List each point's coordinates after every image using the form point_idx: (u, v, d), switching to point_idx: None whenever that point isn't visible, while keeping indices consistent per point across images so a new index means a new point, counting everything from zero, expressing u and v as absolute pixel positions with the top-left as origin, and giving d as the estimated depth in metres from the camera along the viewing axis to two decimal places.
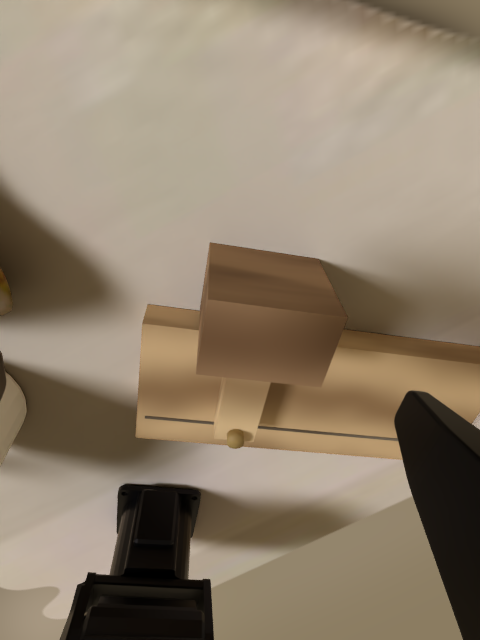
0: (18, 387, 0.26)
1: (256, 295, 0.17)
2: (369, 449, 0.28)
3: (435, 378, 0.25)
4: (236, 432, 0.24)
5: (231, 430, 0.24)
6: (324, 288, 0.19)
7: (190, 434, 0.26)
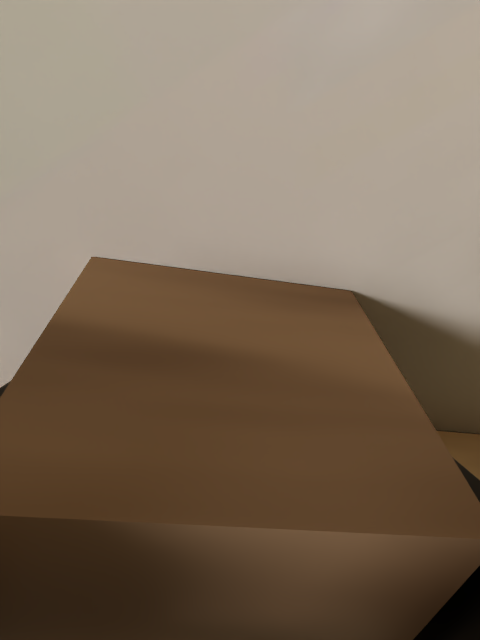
0: None
1: (162, 454, 0.05)
2: None
3: None
4: None
5: None
6: (385, 388, 0.07)
7: None
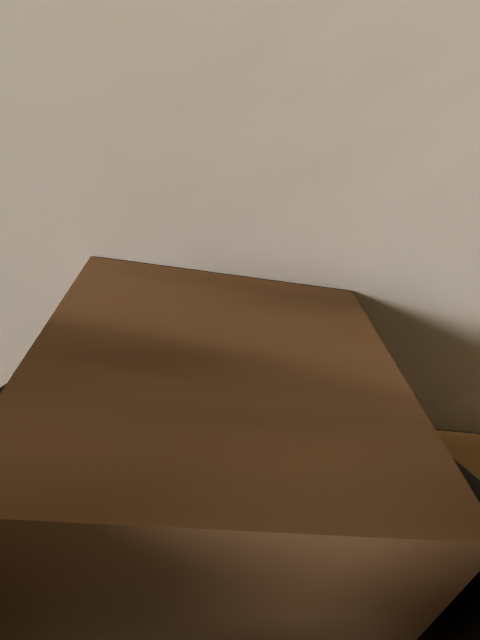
0: None
1: (161, 455, 0.05)
2: None
3: None
4: None
5: None
6: (386, 390, 0.07)
7: None
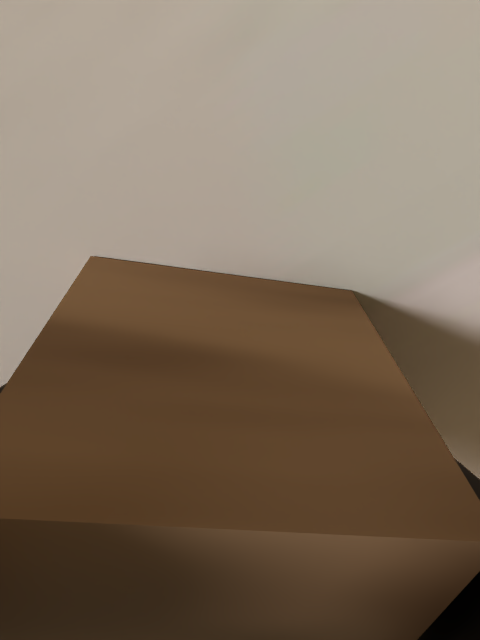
0: None
1: (162, 455, 0.05)
2: None
3: None
4: None
5: None
6: (386, 389, 0.07)
7: None
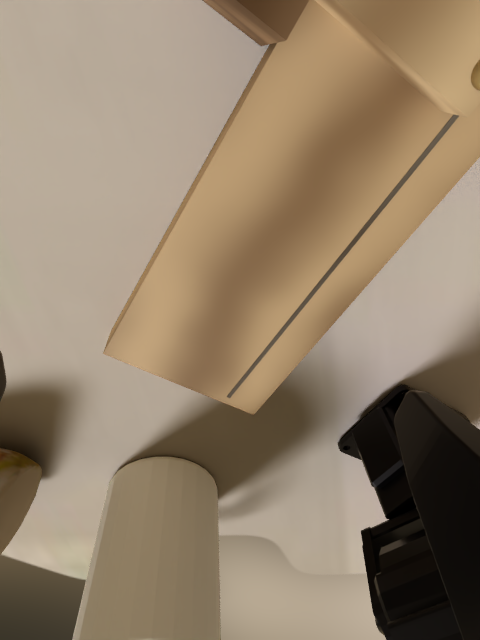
0: (166, 458, 0.27)
1: None
2: (458, 156, 0.16)
3: None
4: None
5: (473, 73, 0.13)
6: None
7: (277, 368, 0.21)
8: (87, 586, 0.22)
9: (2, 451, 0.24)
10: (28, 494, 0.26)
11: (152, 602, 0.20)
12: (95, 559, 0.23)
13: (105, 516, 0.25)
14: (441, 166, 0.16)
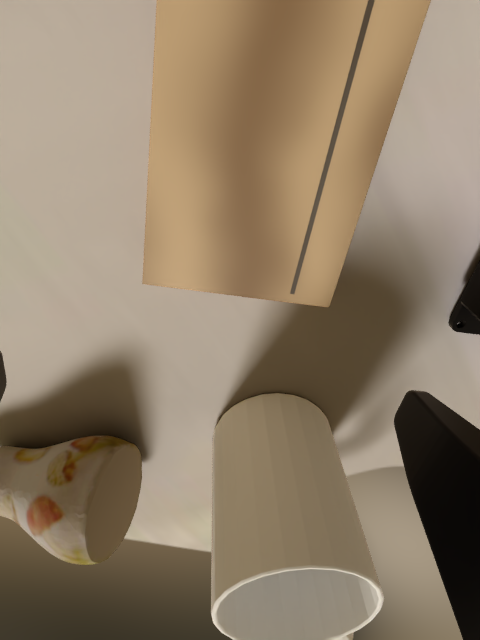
0: (259, 396, 0.25)
1: None
2: None
3: None
4: None
5: None
6: None
7: (334, 238, 0.18)
8: (213, 536, 0.21)
9: (95, 436, 0.25)
10: (133, 475, 0.26)
11: (277, 531, 0.18)
12: (214, 509, 0.22)
13: (214, 468, 0.24)
14: None
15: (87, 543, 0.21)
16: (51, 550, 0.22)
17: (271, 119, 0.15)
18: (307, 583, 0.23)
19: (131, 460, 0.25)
